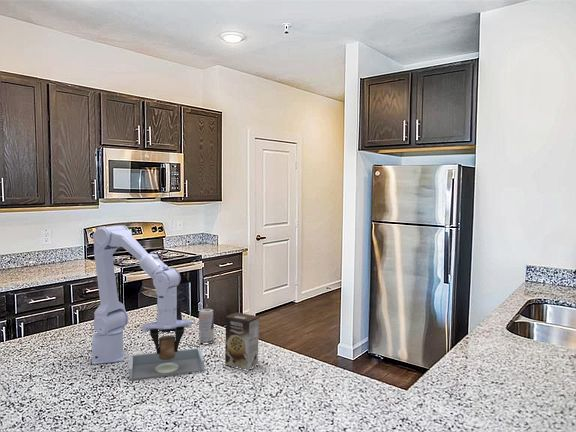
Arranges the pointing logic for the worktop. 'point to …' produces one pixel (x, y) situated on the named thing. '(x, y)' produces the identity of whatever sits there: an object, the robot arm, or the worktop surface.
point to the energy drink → (206, 326)
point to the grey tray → (165, 364)
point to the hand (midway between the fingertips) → (167, 351)
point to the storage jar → (179, 315)
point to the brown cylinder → (166, 347)
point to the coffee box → (241, 340)
